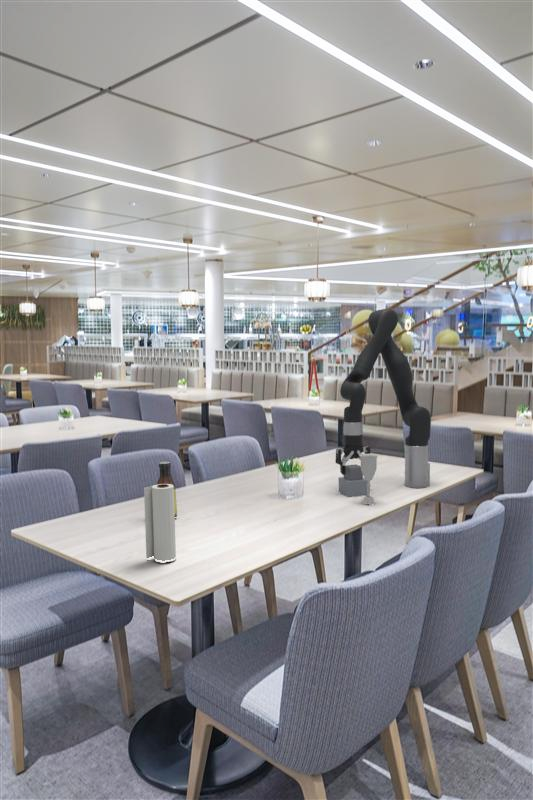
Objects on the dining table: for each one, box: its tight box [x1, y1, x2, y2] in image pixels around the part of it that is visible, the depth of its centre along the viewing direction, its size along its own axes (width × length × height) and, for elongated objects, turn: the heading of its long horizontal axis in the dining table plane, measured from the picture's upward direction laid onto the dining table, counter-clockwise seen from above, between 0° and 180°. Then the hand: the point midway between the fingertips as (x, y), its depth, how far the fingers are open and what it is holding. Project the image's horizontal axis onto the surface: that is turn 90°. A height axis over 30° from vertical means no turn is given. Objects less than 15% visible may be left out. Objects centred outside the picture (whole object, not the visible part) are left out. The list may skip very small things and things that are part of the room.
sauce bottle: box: [156, 461, 178, 518], centre depth 213 cm, size 7×6×20 cm
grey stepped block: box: [338, 464, 367, 498], centre depth 245 cm, size 9×9×11 cm
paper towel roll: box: [143, 484, 177, 561], centre depth 173 cm, size 7×6×21 cm
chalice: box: [359, 453, 378, 506], centre depth 230 cm, size 7×7×18 cm
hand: (353, 473), depth 245 cm, fingers open, 8 cm apart
